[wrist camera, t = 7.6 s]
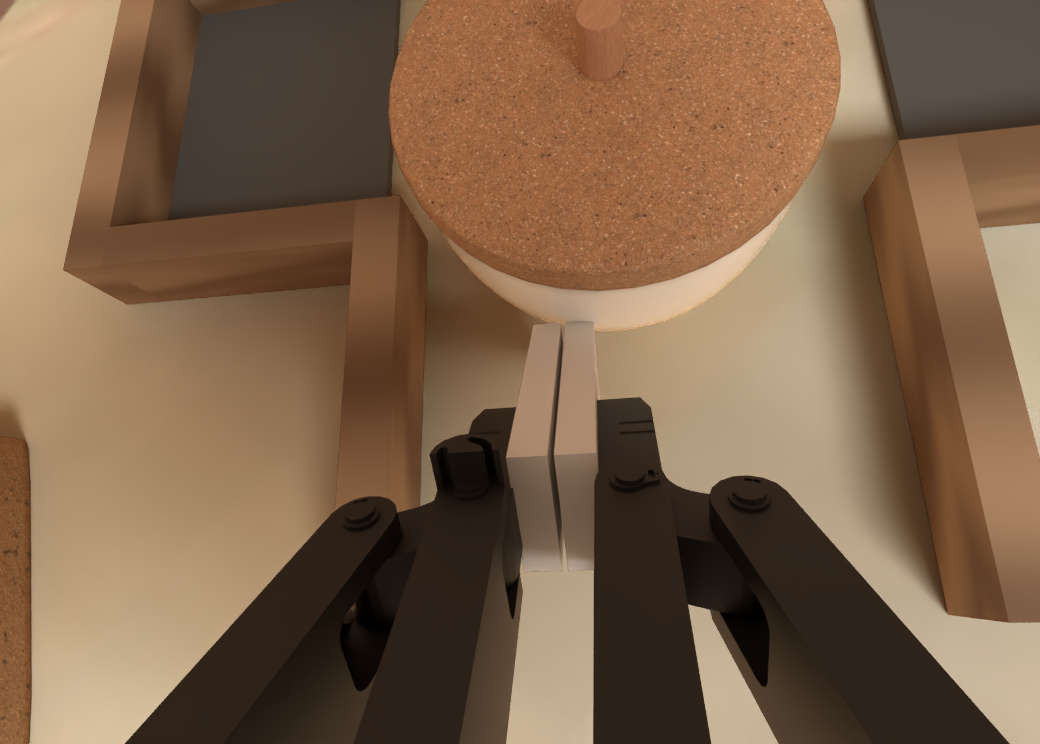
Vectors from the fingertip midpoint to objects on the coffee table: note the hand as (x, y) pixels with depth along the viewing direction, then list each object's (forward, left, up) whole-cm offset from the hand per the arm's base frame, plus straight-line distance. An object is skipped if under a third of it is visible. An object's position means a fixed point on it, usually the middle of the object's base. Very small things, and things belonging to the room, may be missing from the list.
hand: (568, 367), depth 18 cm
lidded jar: (+2, -6, -4) cm, 7 cm away
